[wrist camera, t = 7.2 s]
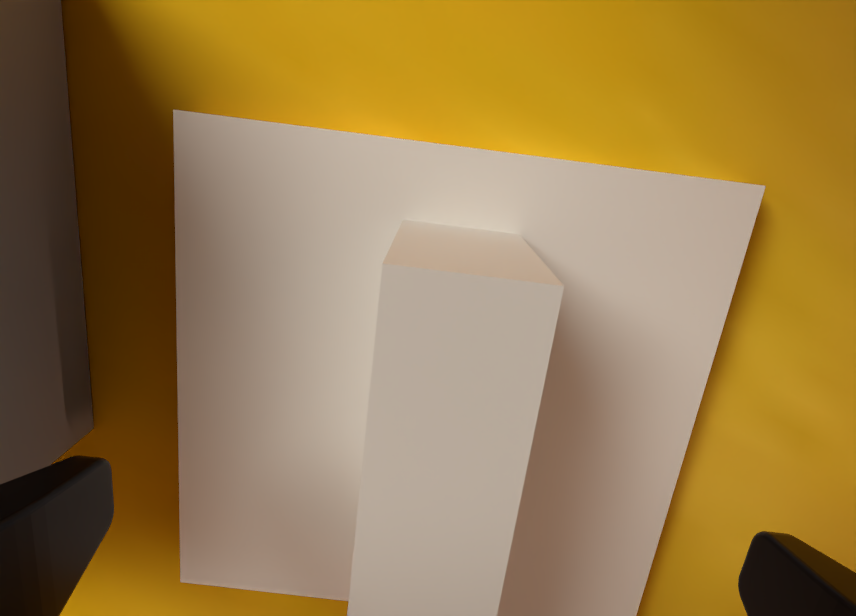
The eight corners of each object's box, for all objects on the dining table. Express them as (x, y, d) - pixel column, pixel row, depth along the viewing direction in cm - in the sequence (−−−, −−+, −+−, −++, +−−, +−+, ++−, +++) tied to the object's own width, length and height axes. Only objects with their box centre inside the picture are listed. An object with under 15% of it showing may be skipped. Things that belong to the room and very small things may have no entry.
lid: (613, 589, 13) (706, 829, 8) (203, 542, 13) (75, 760, 8) (729, 181, 10) (961, 212, 6) (204, 113, 10) (9, 89, 5)
